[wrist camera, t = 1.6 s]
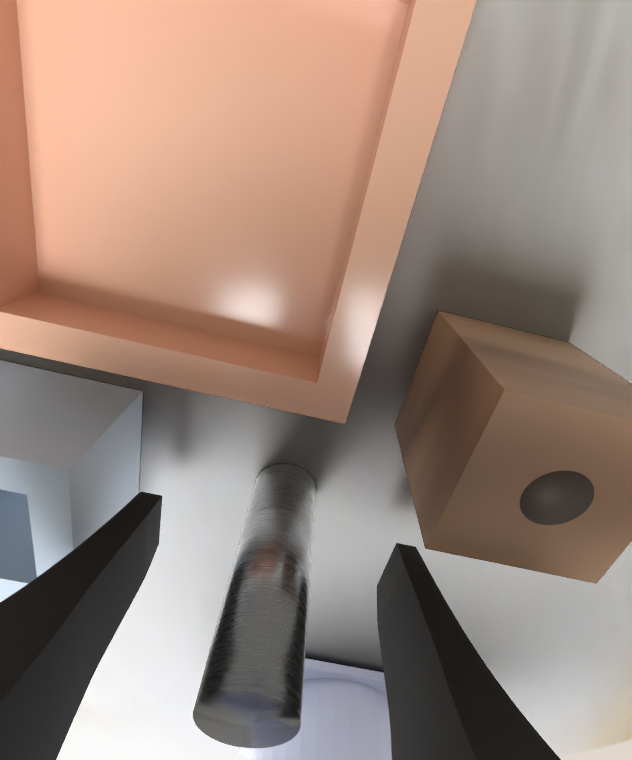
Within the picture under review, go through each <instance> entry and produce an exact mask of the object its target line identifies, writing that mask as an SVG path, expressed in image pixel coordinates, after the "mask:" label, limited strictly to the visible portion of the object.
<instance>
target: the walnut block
mask: <svg viewBox="0 0 632 760" xmlns="http://www.w3.org/2000/svg"><path fill="white" fill-rule="evenodd" d="M395 429H396V433H397V437H398V441H399V445H400V449H401V453H402V457H403V461H404V465H405V469H406V473H407V477H408V481H409V485H410V489H411V493H412V497H413V501H414V505H415V509H416V513H417V517H418V521H419V525H420V529H421V533H422V537H423V542H424V546H425V548H426V549H431V550H435V551H440V552H445V553H450V554H455V555H460V556H465V557H470V558H474V559H479V560H484V561H489V562H494V563H499V564H504V565H509V566H514V567H518V568H523V569H528V570H533V571H538V572H543V573H548V574H553V575H557V576H562V577H567V578H572V579H577V580H582V581H587V582H592V583H597V582H598V581H599V580H600V579H601V577H602V576H603V575H604V574H605V573H606V571H607V570H608V569H609V568H610V566H611V565H612V564H613V563H614V562H615V560H616V559H617V558H618V557H619V555H620V554H621V553H622V552H623V551H624V549H625V548H626V547H627V546H628V544H629V543H630V542H631V541H632V384H631V383H630V382H628V381H627V380H625V379H624V378H622V377H621V376H619V375H618V374H616V373H615V372H613V371H612V370H610V369H609V368H607V367H606V366H604V365H603V364H601V363H600V362H598V361H597V360H595V359H593V358H592V357H590V356H589V355H587V354H586V353H584V352H583V351H581V350H580V349H578V348H577V347H575V346H574V345H572V344H571V343H569V342H566V341H562V340H558V339H554V338H550V337H546V336H541V335H537V334H533V333H529V332H525V331H521V330H517V329H513V328H508V327H504V326H500V325H496V324H492V323H488V322H484V321H480V320H475V319H471V318H467V317H463V316H459V315H455V314H451V313H447V312H442V311H438V312H437V314H436V317H435V320H434V322H433V325H432V328H431V330H430V333H429V336H428V338H427V341H426V344H425V346H424V349H423V352H422V354H421V357H420V359H419V362H418V365H417V367H416V370H415V373H414V375H413V378H412V381H411V383H410V386H409V389H408V391H407V394H406V397H405V399H404V402H403V405H402V407H401V410H400V412H399V415H398V418H397V420H396V423H395Z"/></svg>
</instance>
